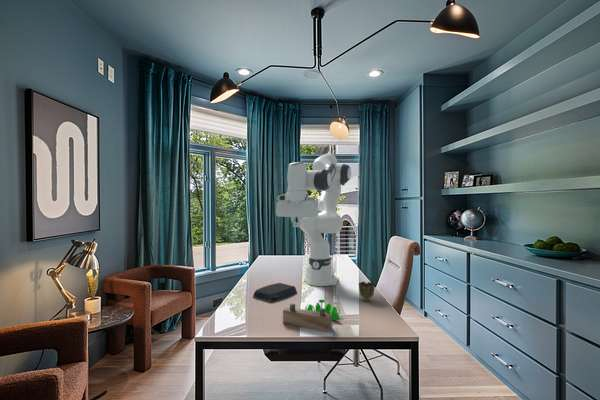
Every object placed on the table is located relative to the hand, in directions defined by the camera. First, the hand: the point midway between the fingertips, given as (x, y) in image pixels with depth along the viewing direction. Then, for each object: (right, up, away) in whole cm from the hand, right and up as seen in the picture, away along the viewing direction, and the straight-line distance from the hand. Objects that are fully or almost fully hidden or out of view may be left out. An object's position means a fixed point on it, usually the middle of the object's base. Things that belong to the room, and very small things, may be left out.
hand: (296, 227), depth 143 cm
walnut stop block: (+4, -34, -28) cm, 44 cm away
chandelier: (+10, -35, -20) cm, 41 cm away
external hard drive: (-10, -34, +8) cm, 37 cm away
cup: (+32, -34, +1) cm, 47 cm away
